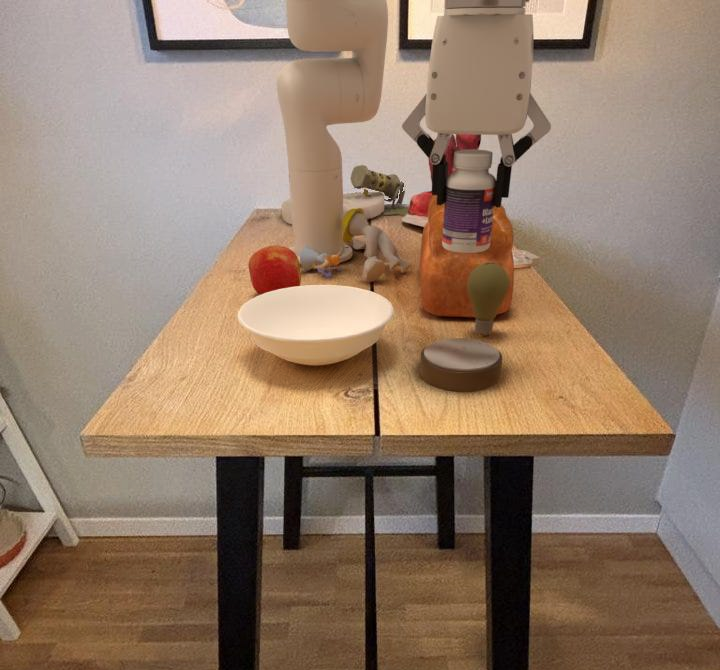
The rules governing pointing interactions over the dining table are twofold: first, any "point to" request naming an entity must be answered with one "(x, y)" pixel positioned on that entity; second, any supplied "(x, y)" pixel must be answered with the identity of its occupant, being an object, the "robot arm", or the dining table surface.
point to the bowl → (316, 322)
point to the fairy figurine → (317, 260)
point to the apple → (274, 269)
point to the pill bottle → (469, 202)
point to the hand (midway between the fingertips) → (469, 201)
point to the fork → (358, 244)
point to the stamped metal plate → (524, 259)
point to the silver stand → (461, 364)
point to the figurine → (372, 245)
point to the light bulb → (487, 294)
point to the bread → (460, 265)
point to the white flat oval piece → (348, 205)
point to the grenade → (378, 183)
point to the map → (397, 211)
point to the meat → (421, 201)
